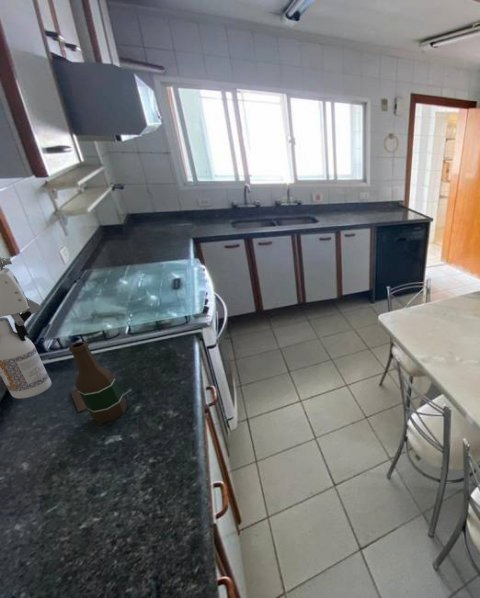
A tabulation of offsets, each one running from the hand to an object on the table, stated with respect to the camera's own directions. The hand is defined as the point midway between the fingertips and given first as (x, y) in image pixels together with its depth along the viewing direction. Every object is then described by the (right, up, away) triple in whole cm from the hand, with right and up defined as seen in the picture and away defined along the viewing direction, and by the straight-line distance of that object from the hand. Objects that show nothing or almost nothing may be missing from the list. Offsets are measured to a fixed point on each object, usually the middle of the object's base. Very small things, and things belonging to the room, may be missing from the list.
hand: (9, 341), depth 76 cm
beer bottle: (+7, -24, +19) cm, 31 cm away
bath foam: (-1, -13, +6) cm, 15 cm away
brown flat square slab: (-3, -20, +26) cm, 33 cm away
